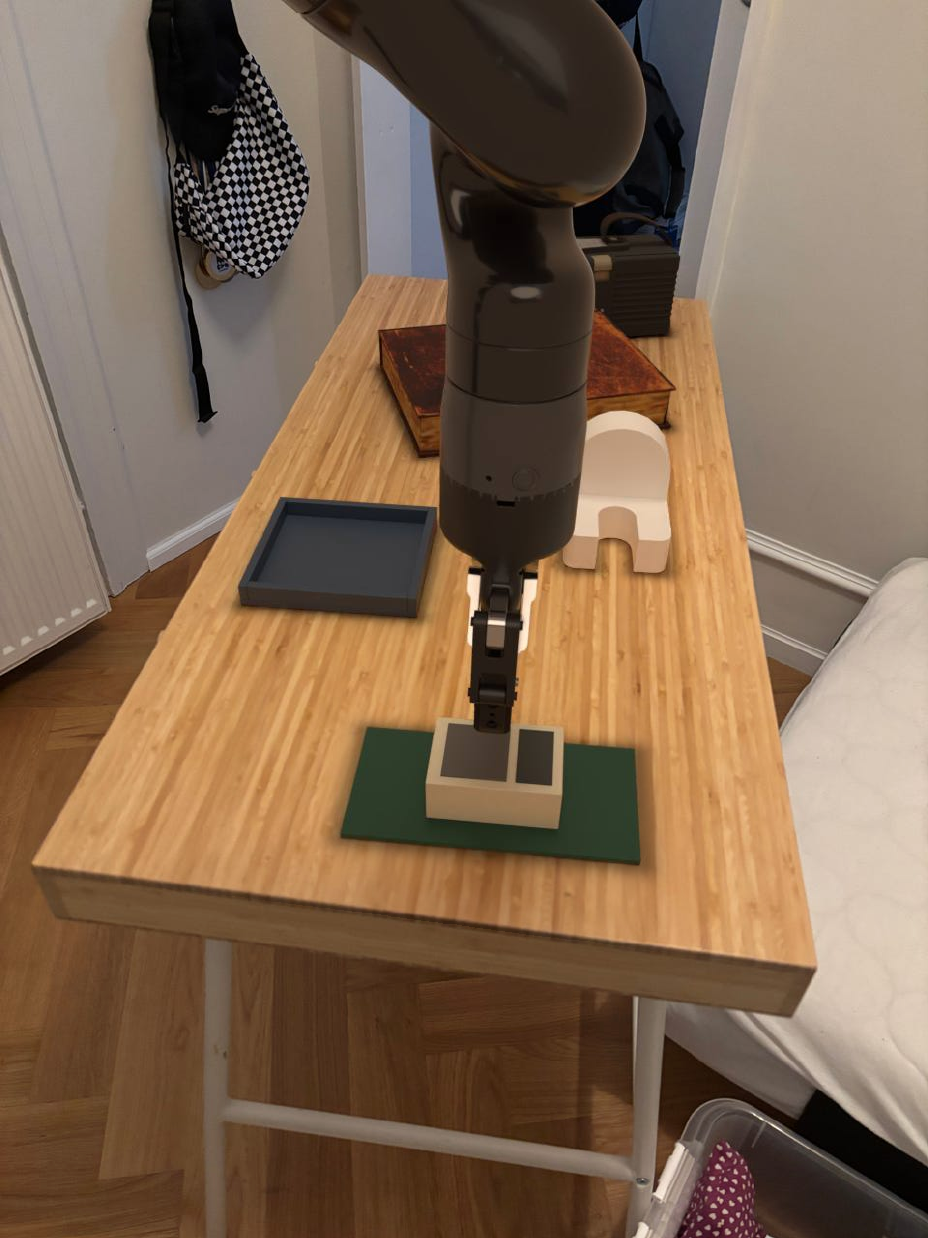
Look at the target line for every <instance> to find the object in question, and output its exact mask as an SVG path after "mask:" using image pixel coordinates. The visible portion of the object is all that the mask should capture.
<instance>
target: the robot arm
mask: <svg viewBox="0 0 928 1238" xmlns="http://www.w3.org/2000/svg"><path fill="white" fill-rule="evenodd" d="M281 1H282V2H283V3H285V4H286V5H287V6H288V7H289V8H290V9H291V10H293V11H294V12H295V14H299V16H300V18H302V19H303V20H304V21H305V22H307V23H308V24H309V25H310V26H312V27H313V28H314V29H315V30H317V31H318V32H319V33H320V34H322V35H323V36H324V37H326V39H329V40H330V41H331V42H333V43H334V44H336V45H337V46H339V47H340V48H341V49H343V50H344V51H346V52H348V53H349V54H351V55H352V56H354V57H355V58H357V59H359V61H361V62H363V63H365V64H367V65H368V66H369V67H371V68H372V69H374V70H375V71H376V72H378V73H379V74H380V75H381V76H382V77H384V78H385V80H387V81H388V83H390V84H391V85H392V86H393V87H394V88H395V89H396V90H397V91H398V92H399V94H401V95H403V97H404V98H405V99H406V100H407V101H408V102H409V103H410V104H411V105H412V106H413V107H414V108H416V110H418V112H420V114H422V115H423V116H424V117H425V118H426V120H428V126H429V128H428V131H429V147H430V157H431V166H432V175H433V182H434V190H435V198H436V205H437V214H438V221H439V227H440V234H441V240H442V245H443V251H444V258H445V265H446V272H447V295H446V304H445V324H446V360H445V382H444V389H443V395H442V402H441V409H440V455H439V462H438V463H439V468H438V469H439V470H438V471H439V472H438V473H439V475H438V476H439V477H438V478H439V479H438V480H439V481H438V485H439V487H438V489H439V490H438V524H439V529H440V531H441V533H442V535H443V537H444V538H445V540H447V542H448V543H449V544H450V545H451V546H453V548H455V549H456V550H458V551H459V552H461V553H463V554H464V555H467V556H469V557H471V565H468V569H467V579H466V594H467V596H468V597H469V609H468V620H467V635H466V641H467V644H468V646H469V647H470V648H471V655H470V657H471V658H470V677H469V678H470V680H469V687H468V686H467V697H468V698H469V704H473V720H474V723H473V727H474V729H475V730H476V731H478V732H484V733H495V734H506V733H508V732H509V731H510V728H511V723H512V715H513V714H512V713H513V708H514V707H515V702H517V701H518V691H516V687H517V688H518V687H519V681H520V678H519V677H517V674H518V672H517V671H518V661H519V654H520V653H522V652H525V651H526V649H527V648H528V645H529V635H530V623H531V612H532V603H533V602H534V601H535V600H536V598H537V595H538V594H537V592H538V582H539V581H538V580H539V566H540V565H539V564H540V561H543V560H545V559H548V558H549V557H552V556H554V555H555V554H557V553H559V552H560V551H562V550H563V548H564V547H565V546H566V545H567V544H568V542H569V541H570V540H571V538H572V536H573V534H574V530H575V524H576V515H577V507H578V498H579V489H580V482H581V473H582V464H583V455H584V447H585V438H586V430H587V376H588V368H589V359H590V350H591V341H592V332H593V324H594V312H595V280H594V275H593V271H592V269H591V266H590V264H589V262H588V260H587V259H586V257H585V255H584V253H583V252H582V250H581V248H580V246H579V244H578V242H577V239H576V237H577V236H576V233H575V228H574V218H573V217H574V215H573V213H574V212H573V208H577V207H581V206H584V205H586V204H589V203H591V202H593V201H595V200H597V199H598V198H600V197H602V196H603V195H605V194H606V193H608V192H609V191H610V190H611V189H612V188H614V187H615V186H616V185H617V184H618V183H619V182H620V181H621V179H623V177H624V176H625V175H626V173H627V172H628V170H629V169H630V167H631V166H632V164H633V162H634V161H635V158H636V156H637V153H638V151H639V149H640V146H641V143H642V140H643V136H644V132H645V126H646V120H647V119H646V118H647V96H646V88H645V83H644V78H643V75H642V71H641V68H640V65H639V62H638V60H637V56H636V55H635V53H634V51H633V49H632V47H631V45H630V44H629V41H628V40H627V39H626V37H625V35H624V34H623V32H622V31H621V30H620V29H619V27H618V26H617V25H616V23H615V22H614V21H613V20H612V18H611V17H610V16H609V15H608V13H607V12H606V11H605V10H604V9H603V8H602V7H601V6H600V5H599V4H598V3H597V1H595V0H281Z"/></svg>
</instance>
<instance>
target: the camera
mask: <svg viewBox="0 0 928 1238" xmlns="http://www.w3.org/2000/svg"><path fill="white" fill-rule="evenodd" d="M620 220H636V221H642V222H644V223H647V224H649V225H651V226H654V227H655V228H657V229H658V230H659V231H660V233H661V234H662V236H663V238H664V239H663V238H662V237H660V236H659V235H658V234H657V233H656V234H655V233H651V234H648V233H647V234H633V235H631V234H630V235H608V230H609V227H610V226H611V225H612V224H613V223H615V222H617V221H620ZM599 230H600V236H599V235H598V236H597V235H596V236H594V235H593V236H576V239H577V242H578V244H579V246H580V248H581V250H582V252H583V253H584V255H585V257H586V259H587V260H588V262H589V264H590V266H591V269H592V271H593V275H594V280H595V311H596V310H601V311H602V312H603V313H604V314H605V315H606V316H607V317H608V318H609V319H610V320H611V321H612V322H613V323H614V324H615V325H616V326H617V327H618V328H619V329H620V330H621V331H622V332H623V333H624V334H625V335H626V336H627V337H628V338H630V337H642V336H643V337H644V336H656V335H659V336H660V335H668V334H669V333H670V328H671V322H672V320H671V316H672V310H673V304H674V298H675V291H676V285H677V278H678V271H679V270H680V264H681V255H680V254H679V252H678V251H676V250H675V249H674V245H673V242H672V239H671V238H670V236H669V235H668V233H667V232H666V231H665V229H663V228H662V227H661V226H660V225H658V224H657V223H656V222H654V221H653V220H652V219H650V218H648V217H646V216H644V215H641V214H638V213H633V212H623V211H620V212H613V213H611V214H608V215H606V216H605V217H604V218H603V220H601V223H600V229H599Z"/></svg>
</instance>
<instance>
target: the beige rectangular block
mask: <svg viewBox="0 0 928 1238" xmlns="http://www.w3.org/2000/svg"><path fill="white" fill-rule="evenodd" d="M473 723H474V719H469V718H458V717H457V718H455V717H445V716H444V717H443V716H437V717H436V721H435V727H434V731H433V732H434V737H433V743H432V749H431V755H430V760H429V766H428V772H427V778H426V817H427V818H438V819H449V820H460V821H472V822H483V823H494V824H505V825H517V826H528V827H539V828H550V829H558V826H559V818H560V810H561V801H562V786H563V747H564V743H565V742H564V739H565V727H564V726H555V725H544V724H531V723H519V722H518V723H517V722H511V728H510V731H509V732H508V733H506V734H495V733H484V732H478V731H476V730H475V729H474V727H473Z"/></svg>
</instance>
